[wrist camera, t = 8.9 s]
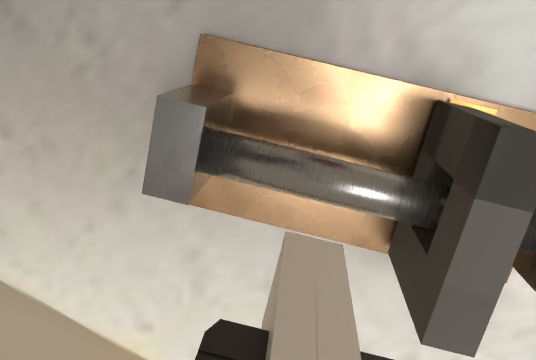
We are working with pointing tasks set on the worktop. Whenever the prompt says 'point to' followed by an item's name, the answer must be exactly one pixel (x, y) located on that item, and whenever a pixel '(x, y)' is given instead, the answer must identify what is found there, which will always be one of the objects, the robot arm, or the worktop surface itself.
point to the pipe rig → (305, 147)
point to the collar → (466, 225)
